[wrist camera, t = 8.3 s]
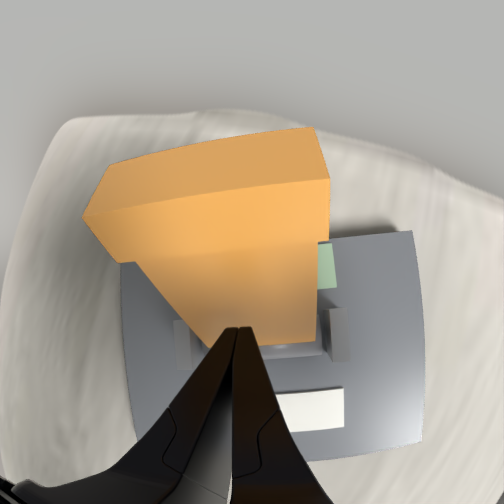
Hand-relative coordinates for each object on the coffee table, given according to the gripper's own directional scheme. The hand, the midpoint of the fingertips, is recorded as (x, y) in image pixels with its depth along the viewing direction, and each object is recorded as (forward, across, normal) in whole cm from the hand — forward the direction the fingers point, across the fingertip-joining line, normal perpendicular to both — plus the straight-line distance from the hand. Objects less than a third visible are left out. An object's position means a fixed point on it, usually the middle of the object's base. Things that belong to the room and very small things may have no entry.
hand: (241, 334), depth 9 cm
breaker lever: (+4, 0, +5) cm, 6 cm away
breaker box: (+4, 0, +7) cm, 8 cm away
